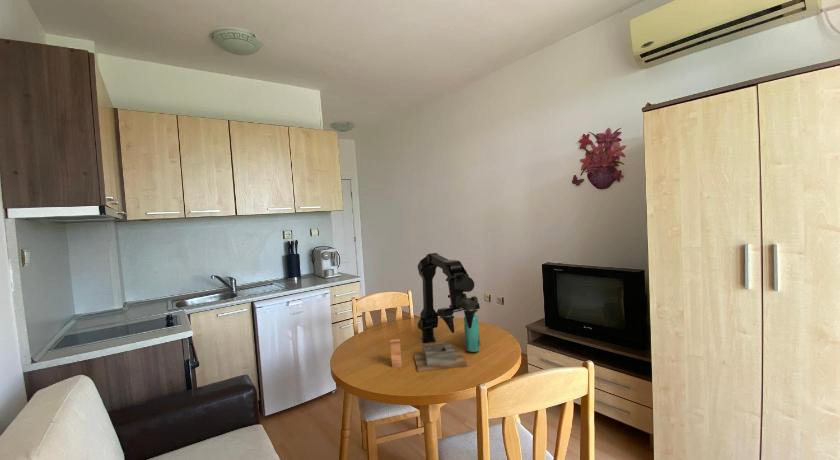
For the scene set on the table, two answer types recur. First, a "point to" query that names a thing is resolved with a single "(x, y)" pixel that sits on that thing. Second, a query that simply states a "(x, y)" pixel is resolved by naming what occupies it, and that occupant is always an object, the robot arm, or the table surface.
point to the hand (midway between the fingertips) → (461, 330)
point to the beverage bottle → (472, 335)
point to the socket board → (428, 368)
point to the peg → (395, 353)
